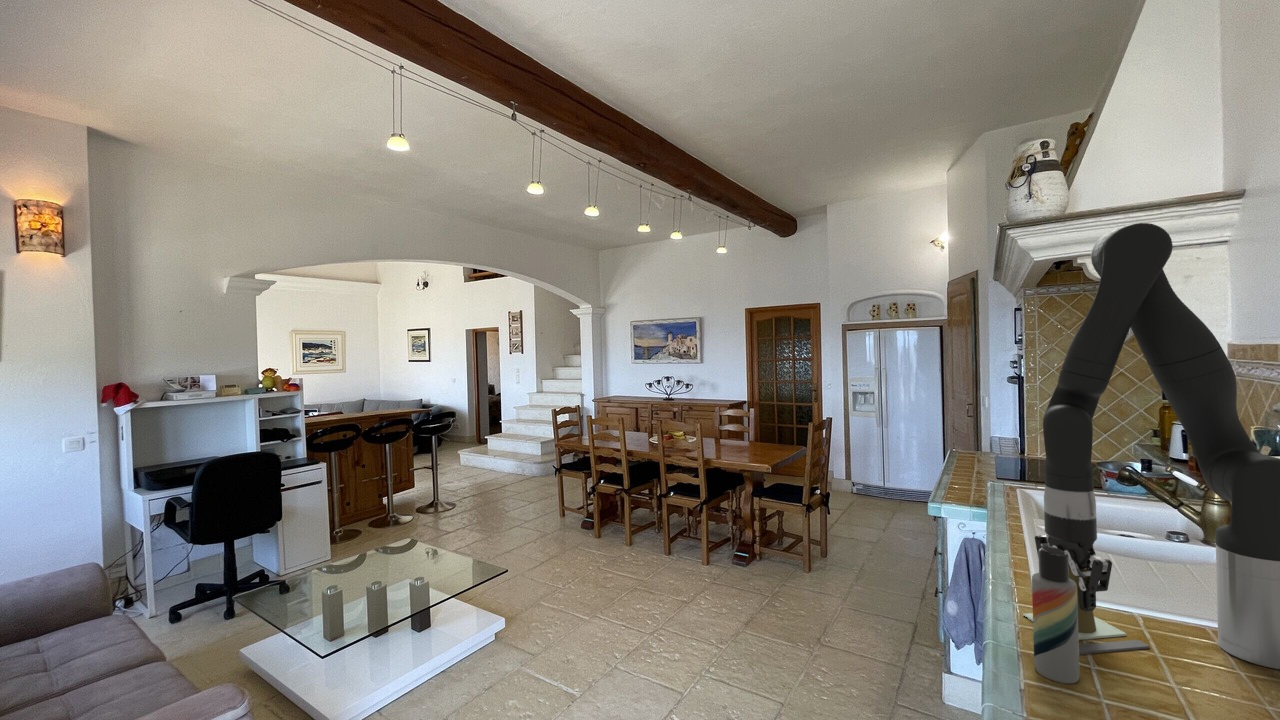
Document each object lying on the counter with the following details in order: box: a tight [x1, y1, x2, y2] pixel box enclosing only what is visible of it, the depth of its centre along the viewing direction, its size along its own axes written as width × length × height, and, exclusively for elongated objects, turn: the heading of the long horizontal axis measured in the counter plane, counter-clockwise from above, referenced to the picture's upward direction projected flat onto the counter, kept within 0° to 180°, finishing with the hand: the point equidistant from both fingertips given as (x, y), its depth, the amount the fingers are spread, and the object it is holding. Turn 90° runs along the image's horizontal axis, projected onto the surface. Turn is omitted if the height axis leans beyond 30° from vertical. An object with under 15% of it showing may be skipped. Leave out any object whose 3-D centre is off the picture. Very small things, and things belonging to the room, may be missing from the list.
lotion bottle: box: [1031, 546, 1080, 684], centre depth 84 cm, size 6×6×20 cm
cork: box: [1069, 566, 1096, 633], centre depth 97 cm, size 6×6×11 cm
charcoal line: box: [1079, 639, 1151, 656], centre depth 90 cm, size 16×2×1 cm, turn 94°
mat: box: [1022, 612, 1127, 641], centre depth 98 cm, size 12×9×1 cm
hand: (1072, 601), depth 98 cm, fingers open, 5 cm apart
